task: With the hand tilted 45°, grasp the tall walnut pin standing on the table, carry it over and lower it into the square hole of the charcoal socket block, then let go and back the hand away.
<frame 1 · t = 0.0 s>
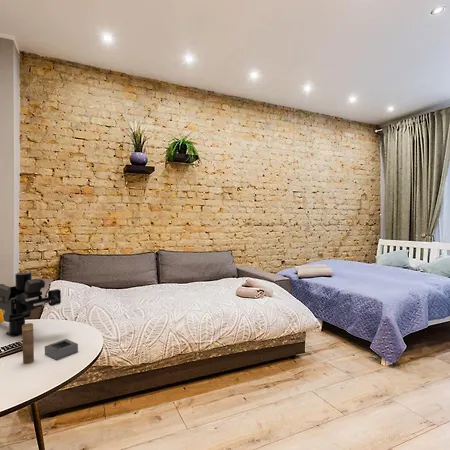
hand: (47, 304, 120), 16 cm above the table, tool horizontal, fingers open, 9 cm apart
socket block: (61, 353, 116), on the table
pin: (28, 361, 109), on the table
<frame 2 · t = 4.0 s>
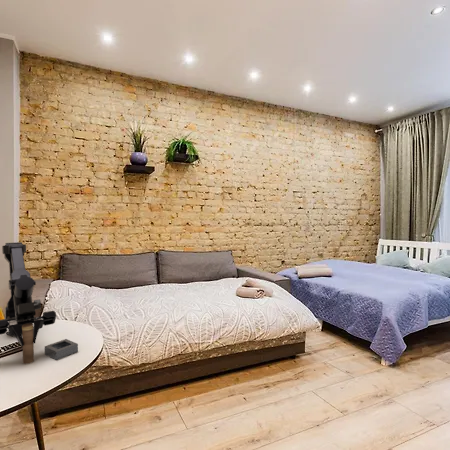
hand: (28, 344, 108), 7 cm above the table, tool tilted 45°, fingers closed on pin, 3 cm apart
pin: (28, 361, 109), on the table, touching gripper
when the fingers open (8 cm above the table, at t = 7.5 s): pin drops 1 cm, resting in socket block.
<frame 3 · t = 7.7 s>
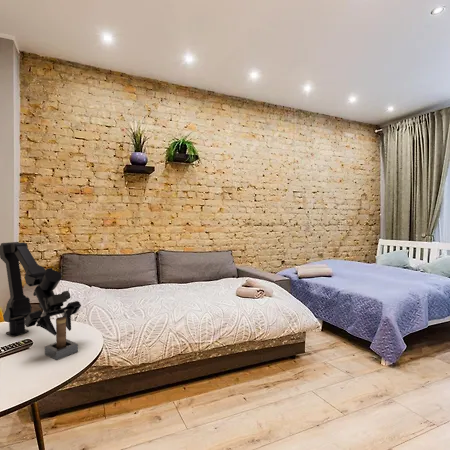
hand: (63, 332, 115), 8 cm above the table, tool tilted 45°, fingers open, 5 cm apart
pin: (61, 353, 116), resting in socket block
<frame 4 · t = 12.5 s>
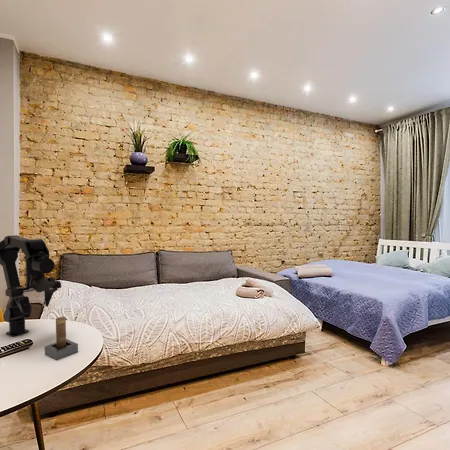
hand: (35, 309, 126), 13 cm above the table, tool pointing down, fingers open, 9 cm apart
nothing on the table moved.
at the end: pin 0.0 cm off-centre on the socket block, point 0.0 cm above the socket block's base; pin tilted 0°; the gripper is holding nothing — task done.
